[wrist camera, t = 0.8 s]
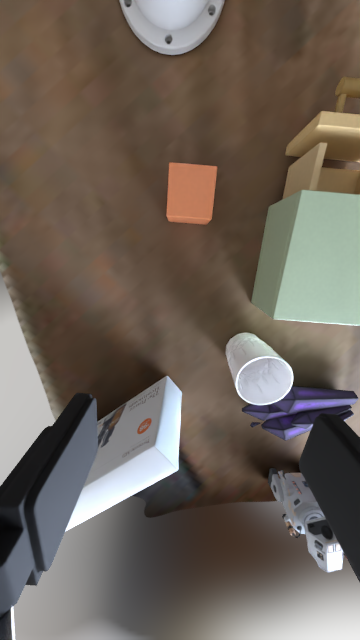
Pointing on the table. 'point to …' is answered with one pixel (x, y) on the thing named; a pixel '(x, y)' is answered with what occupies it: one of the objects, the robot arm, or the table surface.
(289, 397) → the crystal
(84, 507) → the skincare box
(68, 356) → the table surface
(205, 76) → the table surface
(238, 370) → the white cup
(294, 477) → the figurine
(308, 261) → the cabinet
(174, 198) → the plain salmon cube
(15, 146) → the table surface
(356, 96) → the drawer
